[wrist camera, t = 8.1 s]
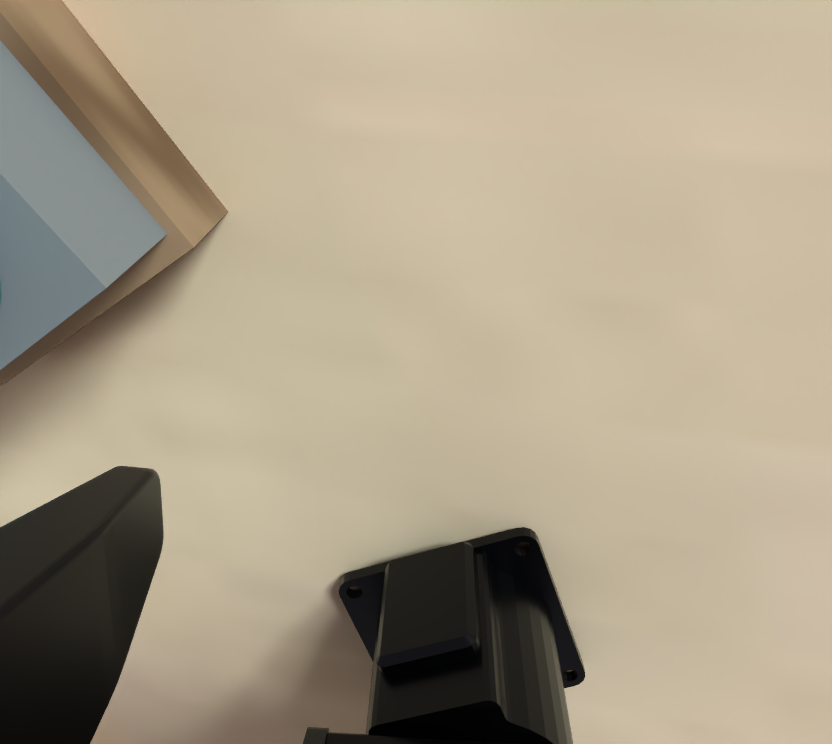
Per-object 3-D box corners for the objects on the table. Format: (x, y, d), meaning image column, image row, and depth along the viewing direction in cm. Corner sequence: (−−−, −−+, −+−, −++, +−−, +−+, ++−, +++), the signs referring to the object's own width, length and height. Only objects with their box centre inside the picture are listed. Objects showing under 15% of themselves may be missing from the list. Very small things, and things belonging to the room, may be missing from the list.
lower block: (231, 207, 21) (193, 247, 18) (44, 343, 23) (-21, 400, 19) (36, -41, 18) (-49, -48, 15) (-155, 134, 20) (-266, 161, 17)
